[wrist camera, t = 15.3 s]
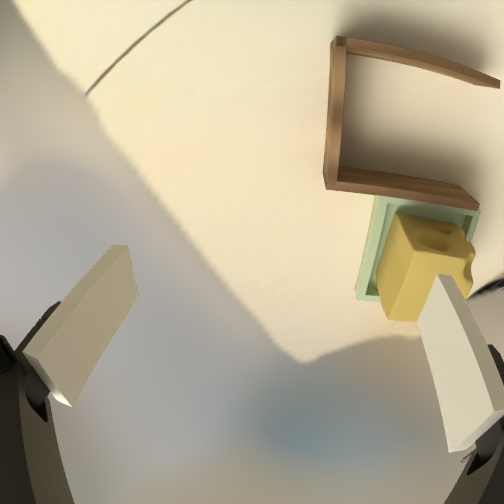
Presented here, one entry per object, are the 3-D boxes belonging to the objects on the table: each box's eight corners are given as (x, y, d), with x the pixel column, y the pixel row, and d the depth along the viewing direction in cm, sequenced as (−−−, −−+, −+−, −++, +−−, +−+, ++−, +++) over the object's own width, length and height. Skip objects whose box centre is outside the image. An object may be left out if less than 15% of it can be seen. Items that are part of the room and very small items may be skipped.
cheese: (456, 221, 35) (488, 260, 27) (431, 284, 41) (451, 330, 32) (391, 207, 36) (414, 247, 28) (370, 276, 42) (382, 325, 33)
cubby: (330, 43, 28) (336, 36, 22) (475, 77, 25) (500, 80, 20) (322, 173, 36) (326, 189, 31) (457, 192, 34) (477, 211, 29)
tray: (376, 186, 36) (380, 194, 33) (472, 202, 34) (480, 210, 32) (354, 289, 44) (356, 299, 42) (440, 294, 42) (445, 305, 40)
